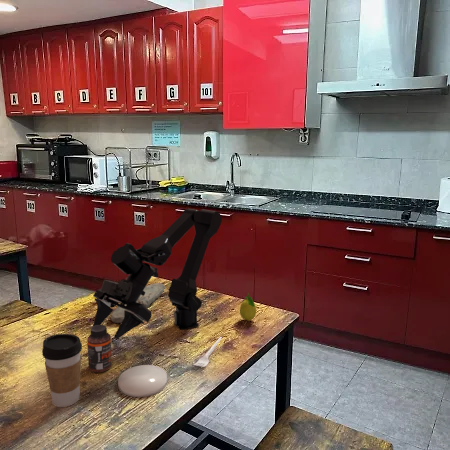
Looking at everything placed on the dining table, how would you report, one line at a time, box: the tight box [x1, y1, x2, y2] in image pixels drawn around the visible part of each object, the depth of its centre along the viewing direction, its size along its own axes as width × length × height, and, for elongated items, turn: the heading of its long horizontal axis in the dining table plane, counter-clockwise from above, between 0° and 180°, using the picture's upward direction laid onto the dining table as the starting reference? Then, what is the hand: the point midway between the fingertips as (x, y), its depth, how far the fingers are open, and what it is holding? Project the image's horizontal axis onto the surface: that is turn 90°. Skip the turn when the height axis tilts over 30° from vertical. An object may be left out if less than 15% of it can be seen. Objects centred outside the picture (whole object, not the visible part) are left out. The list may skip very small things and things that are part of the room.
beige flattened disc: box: [117, 364, 168, 398], centre depth 104 cm, size 12×12×1 cm
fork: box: [192, 336, 223, 368], centre depth 118 cm, size 3×20×2 cm, turn 161°
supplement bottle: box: [86, 324, 113, 373], centre depth 109 cm, size 6×6×11 cm
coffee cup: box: [41, 333, 83, 408], centre depth 95 cm, size 8×8×15 cm
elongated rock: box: [110, 282, 166, 324], centre depth 151 cm, size 35×5×10 cm
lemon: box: [239, 292, 257, 322], centre depth 138 cm, size 7×6×10 cm
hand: (104, 333), depth 110 cm, fingers open, 9 cm apart
